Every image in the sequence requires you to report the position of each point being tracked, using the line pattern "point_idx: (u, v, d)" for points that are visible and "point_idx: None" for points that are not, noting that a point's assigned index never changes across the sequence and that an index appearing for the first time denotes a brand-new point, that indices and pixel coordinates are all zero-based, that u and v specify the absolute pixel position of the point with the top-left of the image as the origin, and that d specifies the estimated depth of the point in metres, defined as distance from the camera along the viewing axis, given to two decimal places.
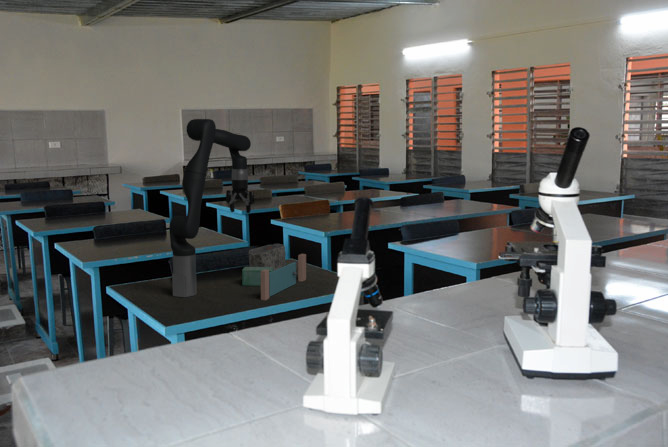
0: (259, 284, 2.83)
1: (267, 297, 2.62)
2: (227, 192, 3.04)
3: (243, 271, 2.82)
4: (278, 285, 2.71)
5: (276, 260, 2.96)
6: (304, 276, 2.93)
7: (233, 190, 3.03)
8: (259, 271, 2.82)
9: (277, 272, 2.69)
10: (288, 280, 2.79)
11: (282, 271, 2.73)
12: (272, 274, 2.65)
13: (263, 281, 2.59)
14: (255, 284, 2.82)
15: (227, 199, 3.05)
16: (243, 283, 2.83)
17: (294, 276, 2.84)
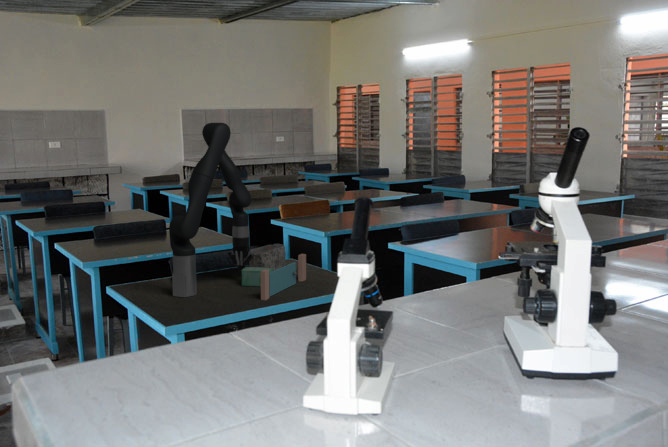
0: (258, 285, 2.81)
1: (267, 297, 2.62)
2: (229, 254, 2.89)
3: (242, 271, 2.81)
4: (278, 285, 2.71)
5: (276, 260, 2.96)
6: (304, 276, 2.93)
7: (232, 248, 2.88)
8: (258, 272, 2.80)
9: (277, 272, 2.69)
10: (288, 280, 2.79)
11: (282, 271, 2.73)
12: (272, 274, 2.65)
13: (263, 281, 2.59)
14: (254, 284, 2.81)
15: (233, 260, 2.89)
16: (242, 283, 2.82)
17: (294, 276, 2.84)
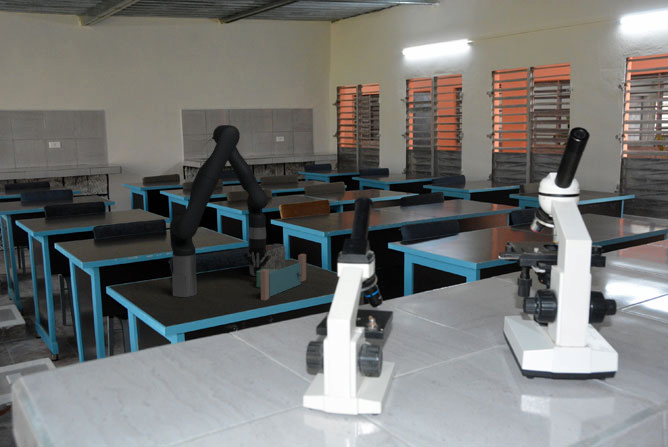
0: None
1: (267, 297, 2.62)
2: (245, 255, 2.85)
3: (257, 273, 2.78)
4: (280, 285, 2.70)
5: (276, 260, 2.96)
6: (304, 276, 2.93)
7: (249, 249, 2.85)
8: None
9: (278, 272, 2.69)
10: (292, 281, 2.79)
11: (284, 271, 2.73)
12: (273, 274, 2.65)
13: (263, 281, 2.59)
14: None
15: (250, 261, 2.85)
16: (257, 285, 2.79)
17: (299, 277, 2.83)
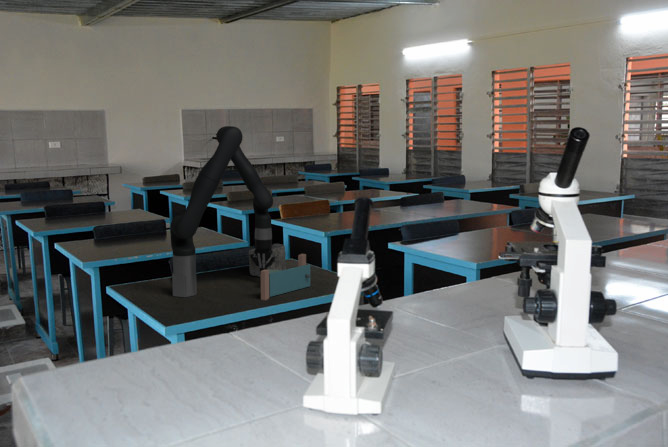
0: None
1: (267, 297, 2.62)
2: (251, 256, 2.84)
3: None
4: (283, 286, 2.69)
5: (276, 260, 2.96)
6: None
7: (255, 250, 2.83)
8: None
9: (281, 273, 2.68)
10: (299, 282, 2.76)
11: (289, 272, 2.71)
12: (274, 274, 2.65)
13: (263, 281, 2.59)
14: None
15: (256, 262, 2.84)
16: None
17: (308, 278, 2.80)
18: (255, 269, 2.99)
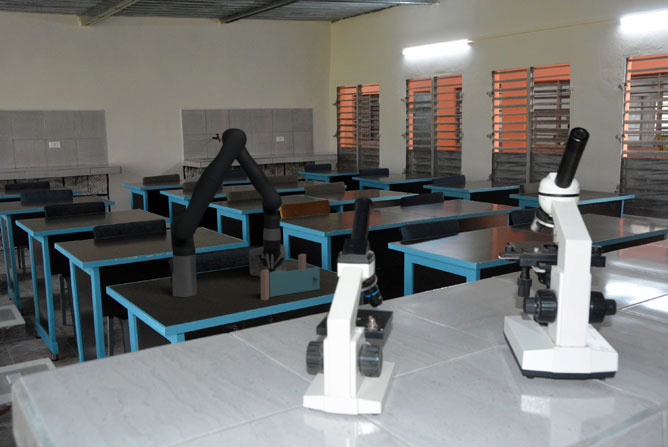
0: None
1: (267, 297, 2.62)
2: (260, 257, 2.83)
3: None
4: (286, 287, 2.68)
5: None
6: None
7: (263, 250, 2.82)
8: None
9: (284, 274, 2.66)
10: (305, 284, 2.73)
11: (293, 273, 2.69)
12: (274, 275, 2.64)
13: (263, 281, 2.59)
14: None
15: (264, 263, 2.82)
16: None
17: (316, 281, 2.75)
18: (255, 269, 2.99)
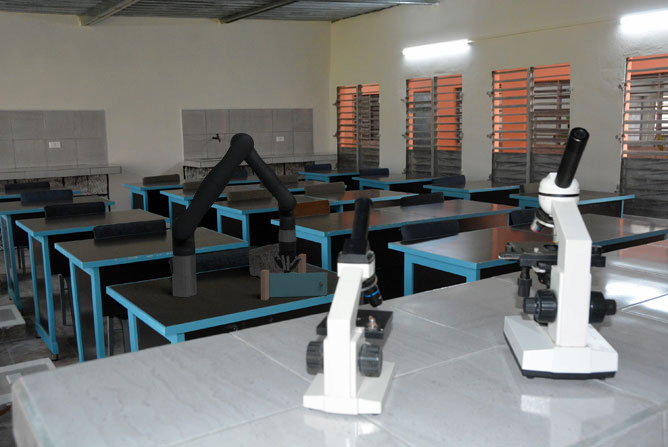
0: None
1: (267, 297, 2.62)
2: (275, 258, 2.80)
3: None
4: (287, 289, 2.64)
5: None
6: None
7: (279, 252, 2.79)
8: None
9: (285, 275, 2.63)
10: (310, 289, 2.65)
11: (296, 276, 2.64)
12: (275, 276, 2.63)
13: (263, 281, 2.59)
14: None
15: (280, 265, 2.79)
16: None
17: (323, 287, 2.66)
18: (255, 269, 2.99)
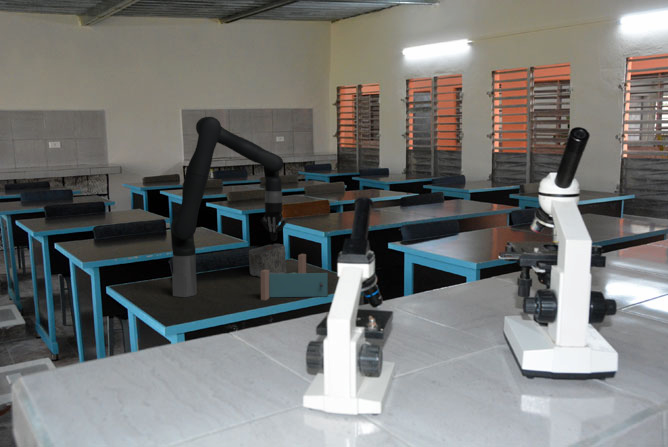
0: None
1: (267, 297, 2.62)
2: (261, 220, 2.80)
3: None
4: (287, 289, 2.64)
5: (276, 260, 2.96)
6: None
7: (265, 214, 2.79)
8: None
9: (285, 276, 2.63)
10: (310, 289, 2.64)
11: (296, 276, 2.63)
12: (275, 276, 2.62)
13: (263, 281, 2.59)
14: None
15: (266, 227, 2.79)
16: None
17: (324, 288, 2.65)
18: (255, 269, 2.99)
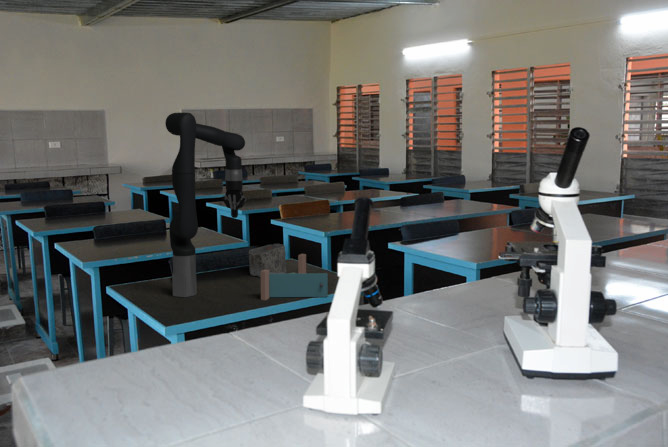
0: None
1: (267, 297, 2.62)
2: (222, 198, 2.88)
3: None
4: (287, 290, 2.64)
5: (276, 260, 2.96)
6: None
7: (226, 192, 2.87)
8: None
9: (285, 276, 2.63)
10: (310, 290, 2.64)
11: (296, 277, 2.63)
12: (275, 276, 2.62)
13: (263, 281, 2.59)
14: None
15: (227, 204, 2.88)
16: None
17: (324, 288, 2.64)
18: (255, 269, 2.99)
